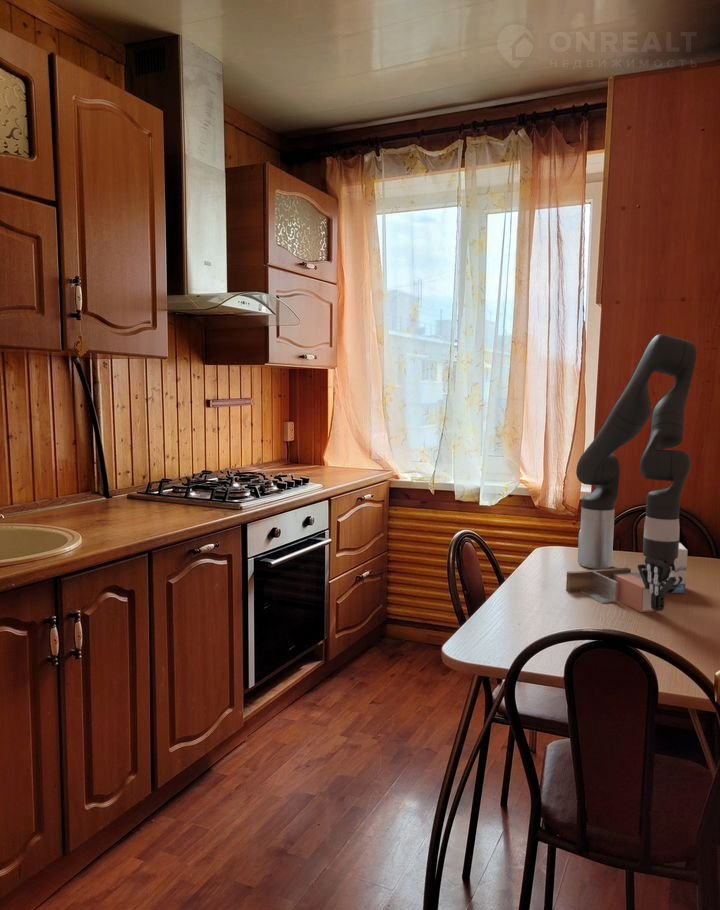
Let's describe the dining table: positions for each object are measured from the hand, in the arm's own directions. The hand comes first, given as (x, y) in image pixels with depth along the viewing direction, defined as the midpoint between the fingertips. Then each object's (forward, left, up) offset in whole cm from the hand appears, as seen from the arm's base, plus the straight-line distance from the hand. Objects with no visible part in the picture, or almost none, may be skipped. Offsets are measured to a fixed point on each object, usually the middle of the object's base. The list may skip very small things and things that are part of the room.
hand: (657, 609), depth 162 cm
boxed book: (-8, 0, -2) cm, 8 cm away
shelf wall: (-22, 0, -2) cm, 22 cm away
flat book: (-16, +6, -2) cm, 17 cm away
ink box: (-19, +17, -2) cm, 25 cm away
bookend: (-16, -5, -2) cm, 17 cm away
